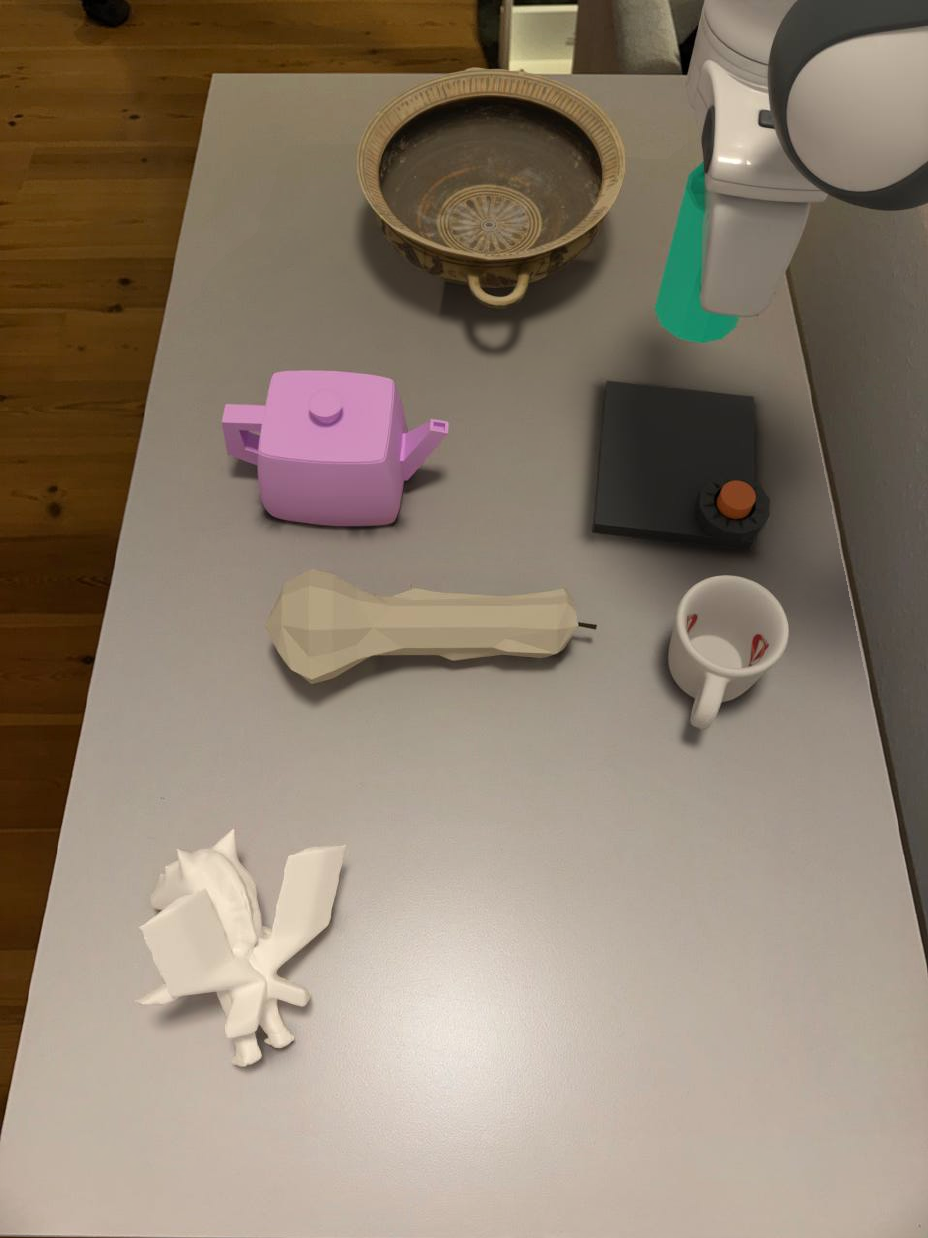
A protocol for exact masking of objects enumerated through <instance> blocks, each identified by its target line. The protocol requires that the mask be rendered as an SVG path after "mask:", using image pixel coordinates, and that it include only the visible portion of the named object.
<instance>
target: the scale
mask: <svg viewBox="0 0 928 1238" xmlns="http://www.w3.org/2000/svg"><path fill="white" fill-rule="evenodd" d="M603 392H604V393H603V405H602V415H601V426H600V428H601V429H600V439H599V440H600V441H599V442H600V443H599V453H598V464H597V476H596V488H595V498H594V499H595V500H594V511H593V523H592V524H593V525H592V533H595V534H602V535H603V534H604V535H613V536H622V537H631V538H638V539H646V540H647V539H648V540H656V541H664V542H665V541H666V542H672V543H683V544H690V545H699V546H707V547H717V548H724V549H732V550H733V549H734V550H740V551H741V550H742V551H751V549H752V547H753V545H754V543H755V538H757V536H758V535H759V533H760V532H761V531H762V530H763V528H764V527H765V526H766V523H767V522H768V520H769V518H770V515H771V500H770V497H769V496H768V493H766V491H765V489H764V488H763V486H762V485H761V484H760V483H758V482H756V481H755V396H753V395H752V396H751V395H744V394H735V393H727V392H725V393H724V392H715V391H708V390H700V389H699V390H698V389H689V388H680V387H671V386H661V385H653V384H651V385H650V384H642V383H636V382H635V383H633V382H625V381H615V380H606V381H605V385H604V391H603ZM730 481H742V482H745V483H747V484H748V485H750V486H751V487H752V488H753V490H754V492H755V495H756V500H755V503H754V505H753V507H752V509H751V511H750V513H749V514H748V515H747V516H746V517H744V518H742V519H730V518H727V517H725V516H724V515H723V514H721V512H720V511H719V510H718V507H717V499H718V496H719V494H720V492H721V489H722V487H723V486H724V485H725V484H726V483H728V482H730Z"/></svg>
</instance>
